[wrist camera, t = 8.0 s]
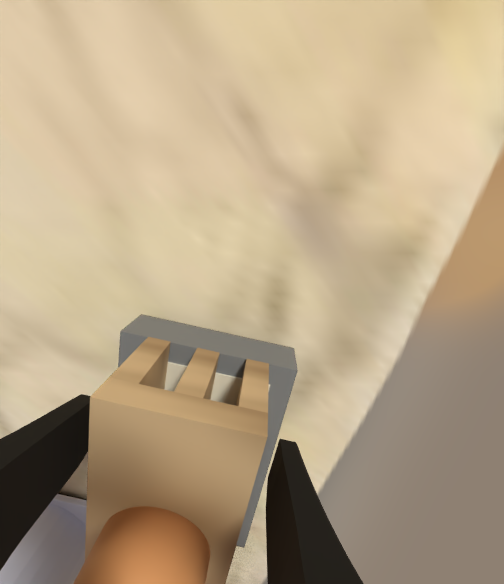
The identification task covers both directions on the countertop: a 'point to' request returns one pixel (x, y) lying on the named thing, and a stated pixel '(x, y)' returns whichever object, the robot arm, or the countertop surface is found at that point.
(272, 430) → the dock
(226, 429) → the pallet
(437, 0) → the countertop surface
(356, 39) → the countertop surface
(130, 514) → the brown egg
